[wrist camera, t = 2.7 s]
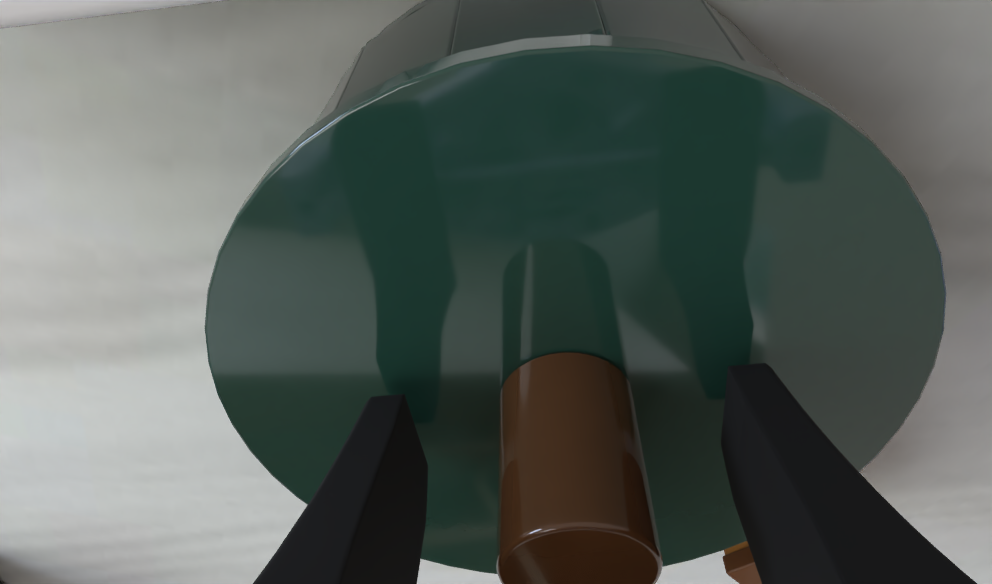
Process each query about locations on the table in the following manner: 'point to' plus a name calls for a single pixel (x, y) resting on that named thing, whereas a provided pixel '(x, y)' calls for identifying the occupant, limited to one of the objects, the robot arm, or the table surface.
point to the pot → (533, 32)
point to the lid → (573, 294)
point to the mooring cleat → (76, 9)
